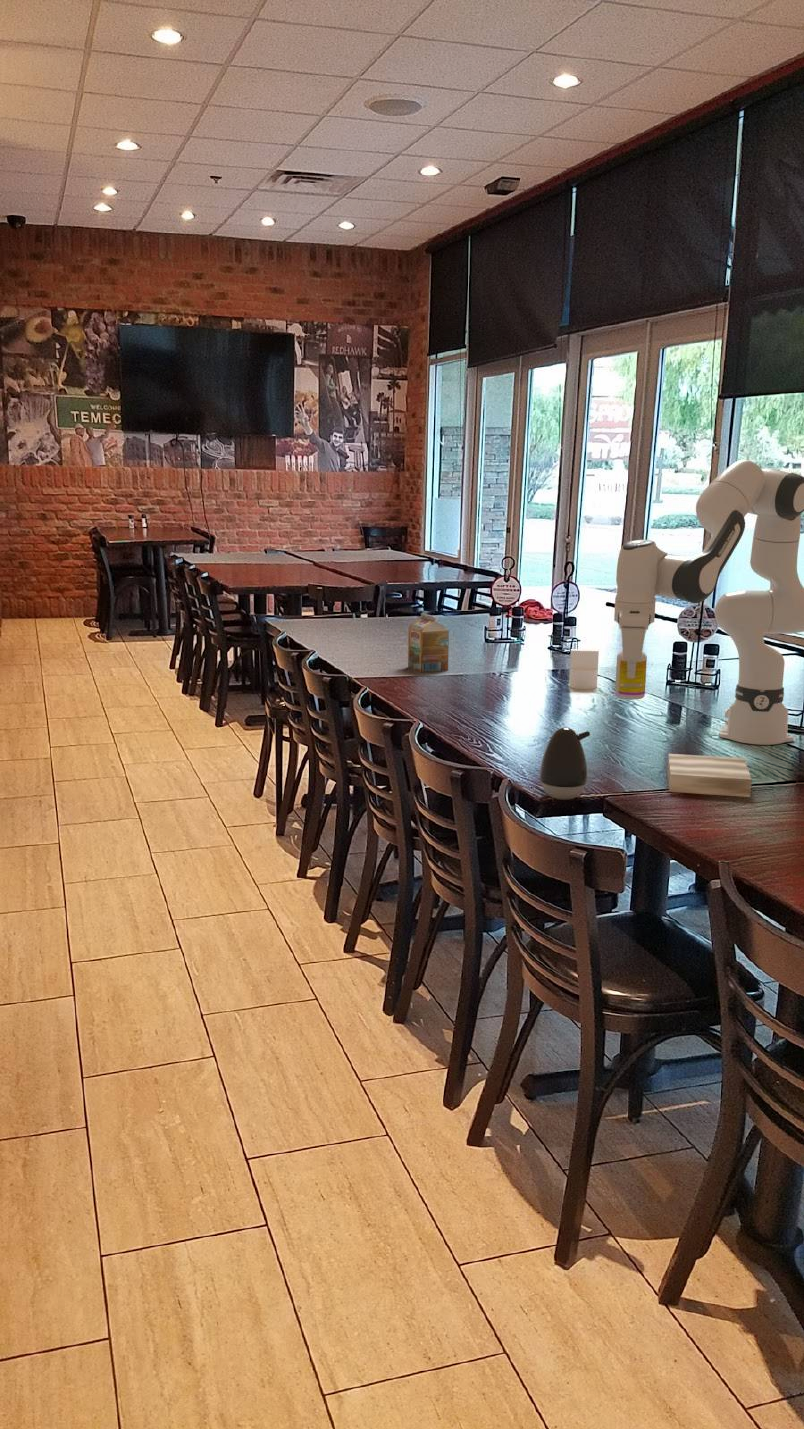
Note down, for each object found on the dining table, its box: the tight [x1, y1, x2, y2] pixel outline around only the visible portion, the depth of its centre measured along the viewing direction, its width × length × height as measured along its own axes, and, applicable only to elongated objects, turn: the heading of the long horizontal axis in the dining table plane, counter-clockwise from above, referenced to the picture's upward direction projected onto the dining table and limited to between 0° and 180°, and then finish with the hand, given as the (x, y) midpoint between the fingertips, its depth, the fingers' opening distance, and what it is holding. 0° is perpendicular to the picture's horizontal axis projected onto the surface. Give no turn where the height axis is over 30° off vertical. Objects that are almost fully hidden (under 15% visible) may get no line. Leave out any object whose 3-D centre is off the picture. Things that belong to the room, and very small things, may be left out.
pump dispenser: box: [539, 727, 591, 801], centre depth 233 cm, size 10×10×15 cm
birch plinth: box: [666, 753, 753, 798], centre depth 245 cm, size 18×17×4 cm
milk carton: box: [407, 613, 450, 673], centre depth 381 cm, size 11×10×19 cm
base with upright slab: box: [568, 648, 600, 690], centre depth 353 cm, size 9×9×12 cm
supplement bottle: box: [614, 649, 648, 700], centre depth 246 cm, size 7×7×13 cm
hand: (631, 674), depth 246 cm, fingers closed on supplement bottle, 7 cm apart
